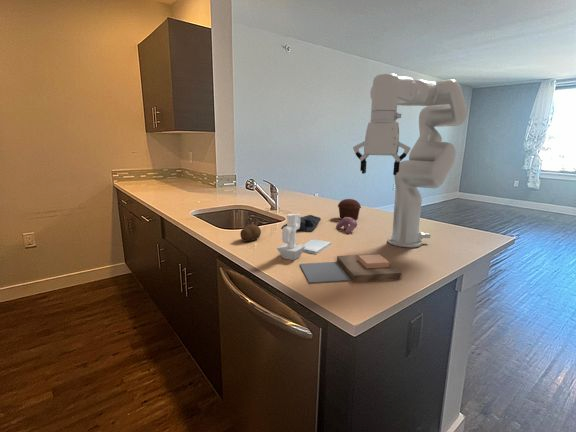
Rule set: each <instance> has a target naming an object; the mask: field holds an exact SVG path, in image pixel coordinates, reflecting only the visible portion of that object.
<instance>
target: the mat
mask: <svg viewBox="0 0 576 432" xmlns="http://www.w3.org/2000/svg"><path fill="white" fill-rule="evenodd" d="M299 266H300V268H301V270H302V272H303V274H304V276H305V277H306V280H307V282H308V284H324V283H325V284H326V283H340V282H341V283H342V282H351V281H352V280H351V278H350V277H349V276H348V275H347V273H346V272H345V271H344V270H343V269H342V267H341V266H340V265H339V264H338V263H337V261H327V262H325V261H324V262H308V263H299Z"/></svg>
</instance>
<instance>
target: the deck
mask: <svg viewBox="0 0 576 432" xmlns="http://www.w3.org/2000/svg"><path fill="white" fill-rule="evenodd" d="M375 254H376V253H369V254H368V253H367V254H365V253H364V254H363V255H375ZM358 255H359V254H349V255H348V254H345V255H336V262H337V263H338V264H339V266H340V267H341V268H342V269H343V271H344V272H345V273H346V274H347V275H348V277H349V278H350V279H351V281H352V282H353V283H362V282H363V283H364V282H365V283H366V282H376V281H377V282H378V281H379V282H380V281H391V280H392V281H394V280H401V279H402V271H400V270H398V269H397V268H396V267H395V266H393V265H392V264H391V263H390V262H389V267H381V268H366V267H365V266H364V265H363V264H362V263H361V262H360V261H359V260H358Z"/></svg>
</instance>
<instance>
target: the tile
mask: <svg viewBox="0 0 576 432" xmlns="http://www.w3.org/2000/svg"><path fill="white" fill-rule="evenodd" d="M374 254H375V255H364V254H357V255H358V260H359V261H360V262H361V263H362V264H363V265H364V266H365V267H366V268H381V267H389V263H390V261H389V260H388V259H386V258H385V257H383V256H382V255H381V254H378V253H374Z"/></svg>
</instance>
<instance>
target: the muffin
mask: <svg viewBox="0 0 576 432" xmlns="http://www.w3.org/2000/svg"><path fill="white" fill-rule="evenodd" d="M337 207H338V211H339V212H338V213H339V219H340V220H342V219H343V218H344V217H350V218H353V219H354V220H355V221H357V220H358V219H359V215H360V210H361V208H362V205H361V203H359V202H358V201H357V200H356V199H354V198H345V199H343V200H341V201H339V202H338V204H337Z"/></svg>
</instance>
